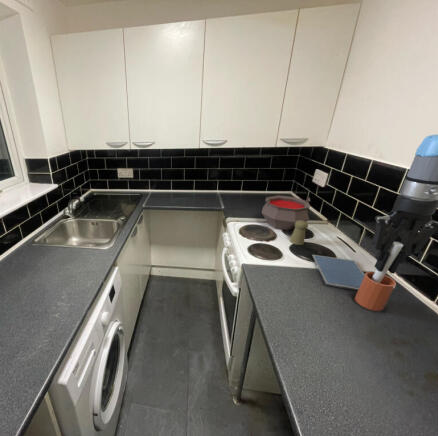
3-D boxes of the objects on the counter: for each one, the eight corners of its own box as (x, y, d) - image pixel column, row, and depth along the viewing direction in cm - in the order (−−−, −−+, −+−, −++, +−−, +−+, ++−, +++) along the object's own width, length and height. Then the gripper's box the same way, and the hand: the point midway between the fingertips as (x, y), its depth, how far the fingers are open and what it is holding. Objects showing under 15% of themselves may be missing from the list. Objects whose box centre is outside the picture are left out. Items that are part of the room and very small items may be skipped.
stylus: (371, 290, 77) (400, 242, 66) (374, 295, 75) (405, 246, 64) (363, 289, 77) (391, 241, 67) (365, 294, 76) (394, 245, 65)
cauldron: (294, 216, 139) (300, 190, 132) (316, 235, 117) (325, 205, 111) (253, 215, 142) (257, 190, 135) (267, 234, 120) (273, 205, 113)
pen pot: (376, 298, 77) (388, 274, 73) (387, 313, 71) (401, 288, 67) (351, 293, 80) (361, 269, 76) (360, 308, 74) (371, 283, 70)
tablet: (353, 262, 96) (354, 260, 95) (377, 294, 79) (378, 292, 78) (311, 256, 101) (312, 254, 100) (325, 285, 84) (326, 283, 83)
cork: (304, 240, 113) (309, 220, 108) (304, 246, 108) (309, 225, 104) (289, 237, 116) (294, 217, 111) (289, 243, 111) (294, 222, 107)
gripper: (389, 199, 60) (358, 272, 69) (471, 204, 55) (425, 282, 64) (375, 190, 66) (348, 258, 76) (447, 194, 61) (409, 267, 71)
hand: (384, 269), depth 70 cm, fingers closed on stylus, 2 cm apart
